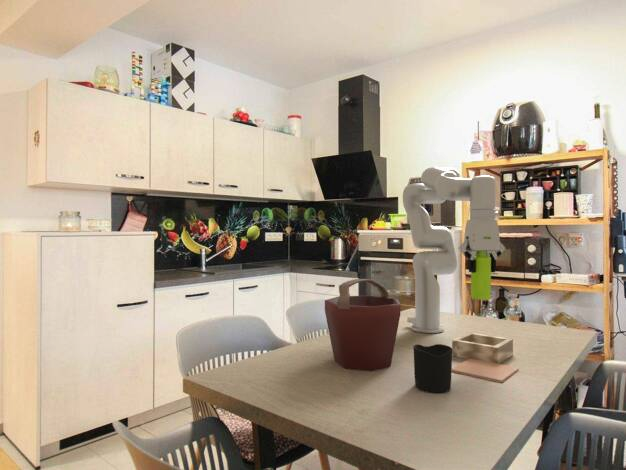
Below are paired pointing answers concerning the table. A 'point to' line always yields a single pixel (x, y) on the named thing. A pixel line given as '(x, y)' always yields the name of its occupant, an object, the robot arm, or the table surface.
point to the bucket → (362, 327)
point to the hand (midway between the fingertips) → (481, 271)
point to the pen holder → (433, 368)
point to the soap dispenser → (481, 276)
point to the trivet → (485, 370)
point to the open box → (482, 347)
